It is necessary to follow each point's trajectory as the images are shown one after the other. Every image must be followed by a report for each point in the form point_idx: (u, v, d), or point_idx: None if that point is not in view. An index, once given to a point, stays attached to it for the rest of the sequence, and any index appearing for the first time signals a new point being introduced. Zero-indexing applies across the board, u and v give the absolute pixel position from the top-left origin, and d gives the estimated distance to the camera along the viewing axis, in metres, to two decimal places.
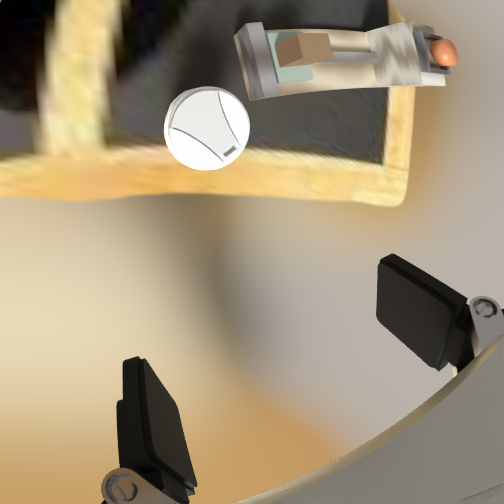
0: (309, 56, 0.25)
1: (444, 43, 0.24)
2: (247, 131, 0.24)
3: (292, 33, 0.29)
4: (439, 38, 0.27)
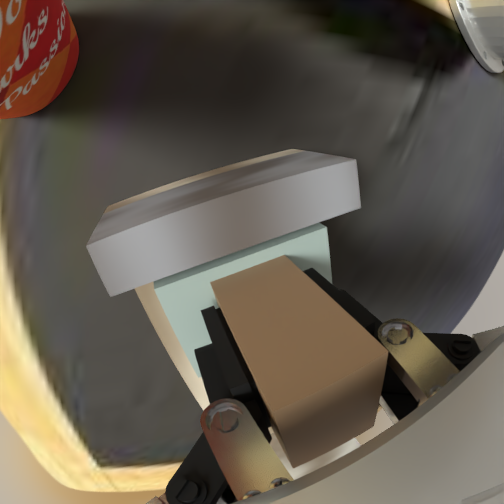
0: (282, 425, 0.06)
1: None
2: None
3: None
4: None
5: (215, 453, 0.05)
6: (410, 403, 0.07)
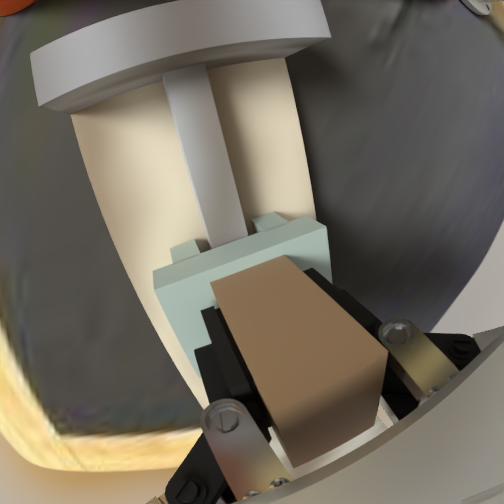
0: (282, 426, 0.06)
1: None
2: None
3: None
4: None
5: (215, 453, 0.05)
6: (410, 403, 0.07)
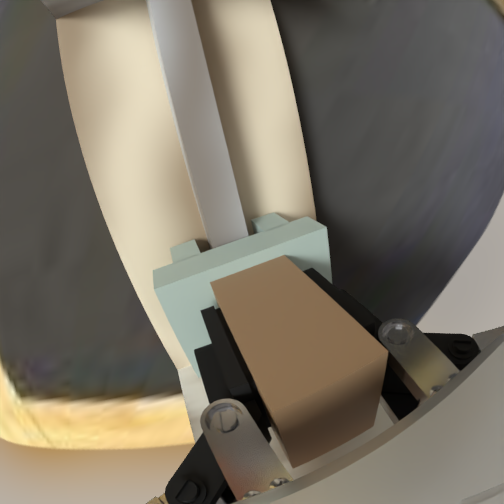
0: (282, 426, 0.06)
1: None
2: None
3: None
4: None
5: (215, 453, 0.05)
6: (410, 402, 0.07)
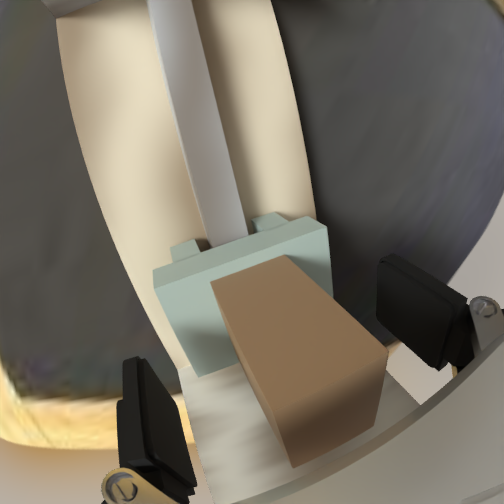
0: (282, 425, 0.06)
1: None
2: None
3: None
4: None
5: None
6: None
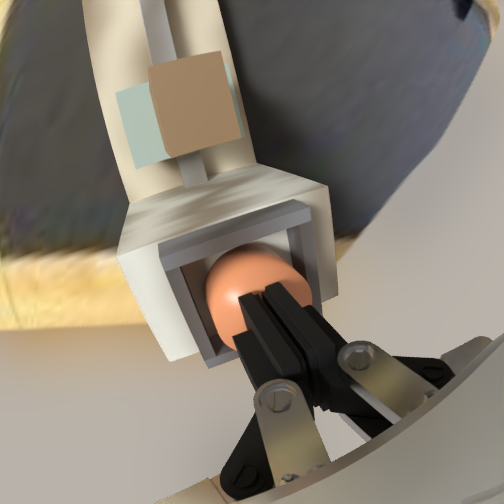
0: (155, 84, 0.10)
1: (286, 274, 0.11)
2: None
3: (235, 114, 0.17)
4: (314, 307, 0.14)
5: (262, 432, 0.06)
6: (383, 421, 0.07)
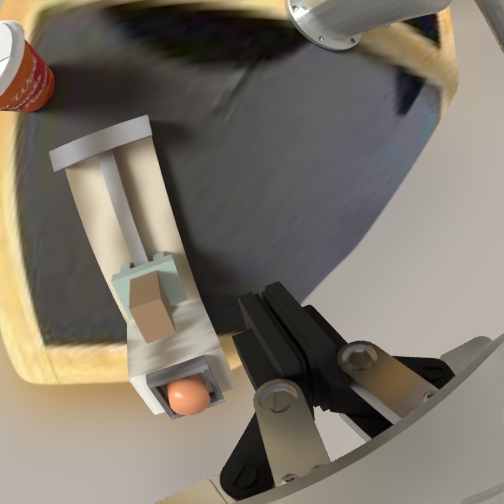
0: (133, 316, 0.23)
1: (195, 390, 0.25)
2: None
3: (180, 288, 0.31)
4: (218, 396, 0.28)
5: (262, 432, 0.06)
6: (383, 421, 0.07)
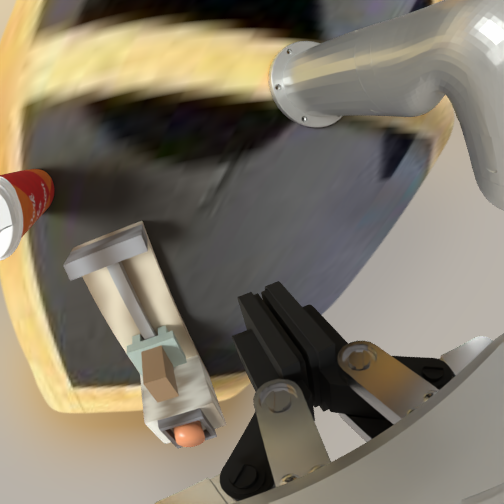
0: (147, 387, 0.31)
1: (194, 433, 0.32)
2: None
3: (181, 356, 0.38)
4: (211, 434, 0.35)
5: (262, 432, 0.06)
6: (383, 421, 0.07)
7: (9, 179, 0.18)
